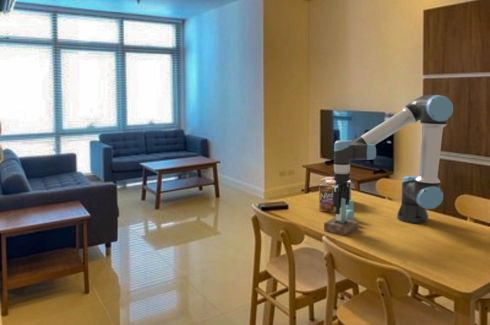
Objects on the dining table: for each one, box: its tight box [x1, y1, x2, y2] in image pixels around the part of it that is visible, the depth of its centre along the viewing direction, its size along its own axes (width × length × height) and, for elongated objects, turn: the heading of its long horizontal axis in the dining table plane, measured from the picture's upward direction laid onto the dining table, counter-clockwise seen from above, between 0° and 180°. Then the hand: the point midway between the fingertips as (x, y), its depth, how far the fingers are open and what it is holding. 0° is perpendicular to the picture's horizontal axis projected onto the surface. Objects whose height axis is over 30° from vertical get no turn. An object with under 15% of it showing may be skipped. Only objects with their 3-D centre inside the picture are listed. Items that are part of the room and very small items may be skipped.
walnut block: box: [323, 216, 359, 236], centre depth 206 cm, size 12×12×4 cm
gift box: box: [319, 176, 353, 200], centre depth 252 cm, size 17×18×17 cm
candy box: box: [318, 183, 336, 213], centre depth 237 cm, size 9×4×15 cm, turn 61°
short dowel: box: [345, 209, 355, 221], centre depth 214 cm, size 4×4×7 cm
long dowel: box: [337, 198, 346, 224], centre depth 205 cm, size 4×4×15 cm
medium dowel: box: [347, 199, 355, 210], centre depth 222 cm, size 4×4×10 cm
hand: (341, 218), depth 205 cm, fingers open, 4 cm apart
